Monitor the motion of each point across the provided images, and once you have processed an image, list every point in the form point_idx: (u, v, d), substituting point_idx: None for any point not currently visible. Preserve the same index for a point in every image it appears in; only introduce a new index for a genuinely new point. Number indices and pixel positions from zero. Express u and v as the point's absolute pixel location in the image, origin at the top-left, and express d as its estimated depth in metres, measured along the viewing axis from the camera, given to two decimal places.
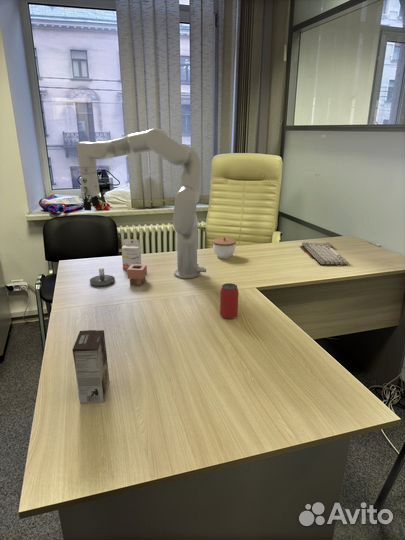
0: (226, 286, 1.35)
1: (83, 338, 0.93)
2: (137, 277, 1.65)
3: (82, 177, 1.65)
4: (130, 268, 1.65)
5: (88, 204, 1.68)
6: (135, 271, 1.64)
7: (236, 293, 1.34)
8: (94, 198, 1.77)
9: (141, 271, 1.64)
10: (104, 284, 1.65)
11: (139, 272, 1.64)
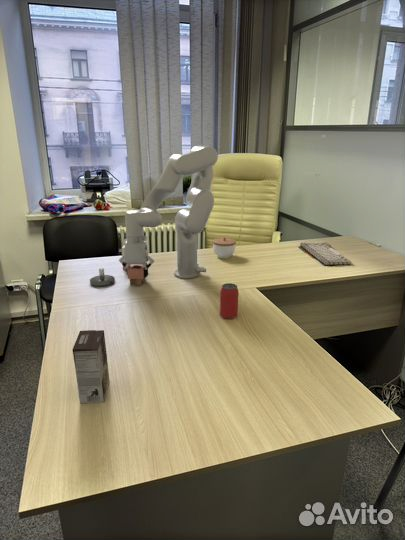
0: (226, 286, 1.35)
1: (83, 338, 0.93)
2: (137, 277, 1.65)
3: (144, 245, 1.62)
4: (130, 268, 1.65)
5: None
6: (135, 271, 1.64)
7: (236, 293, 1.34)
8: None
9: (141, 271, 1.64)
10: (104, 284, 1.65)
11: (139, 272, 1.64)
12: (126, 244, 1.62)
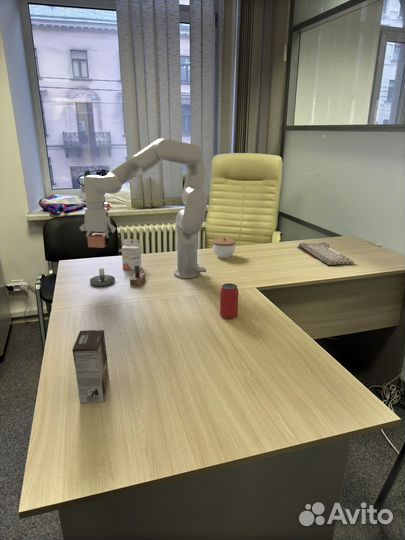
0: (226, 286, 1.35)
1: (83, 338, 0.93)
2: (98, 245, 1.60)
3: (105, 212, 1.57)
4: (91, 236, 1.60)
5: None
6: (95, 239, 1.59)
7: (236, 293, 1.34)
8: None
9: (102, 239, 1.59)
10: (104, 284, 1.65)
11: (100, 240, 1.59)
12: (86, 210, 1.57)
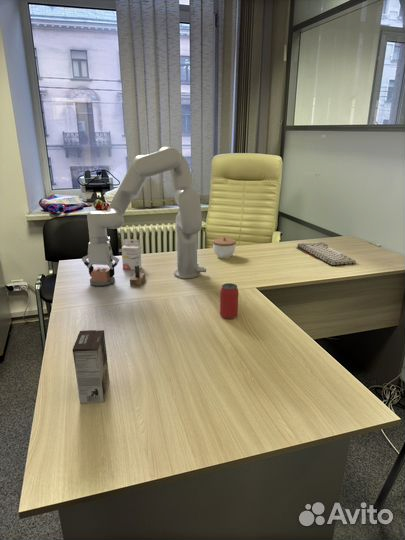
0: (226, 286, 1.36)
1: (83, 338, 0.93)
2: (101, 280, 1.65)
3: (107, 246, 1.62)
4: (94, 271, 1.66)
5: None
6: (99, 274, 1.65)
7: (236, 293, 1.34)
8: (91, 267, 1.68)
9: (105, 274, 1.64)
10: (104, 284, 1.65)
11: (103, 275, 1.64)
12: (89, 245, 1.62)
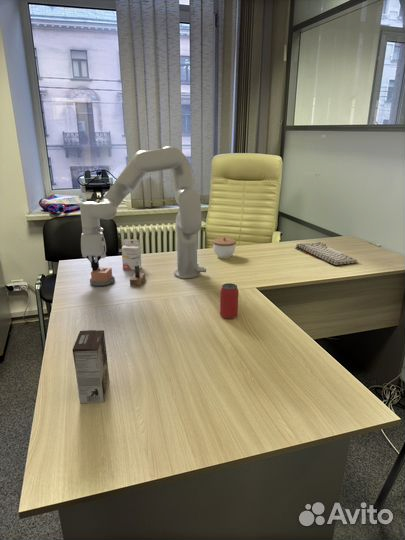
0: (226, 286, 1.35)
1: (83, 338, 0.93)
2: (101, 280, 1.65)
3: (100, 236, 1.61)
4: (94, 271, 1.66)
5: None
6: (99, 274, 1.65)
7: (236, 293, 1.34)
8: (94, 261, 1.66)
9: (105, 274, 1.64)
10: (104, 284, 1.65)
11: (103, 275, 1.64)
12: (82, 235, 1.61)
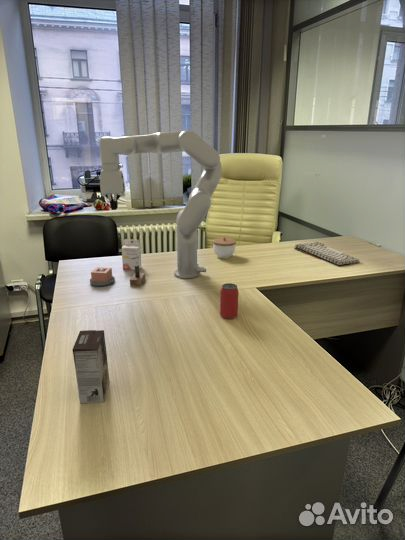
0: (226, 286, 1.35)
1: (83, 338, 0.93)
2: (101, 280, 1.65)
3: (120, 173, 1.59)
4: (94, 271, 1.66)
5: None
6: (99, 274, 1.65)
7: (236, 293, 1.34)
8: (113, 200, 1.65)
9: (105, 274, 1.64)
10: (104, 284, 1.65)
11: (103, 275, 1.64)
12: (101, 172, 1.59)
